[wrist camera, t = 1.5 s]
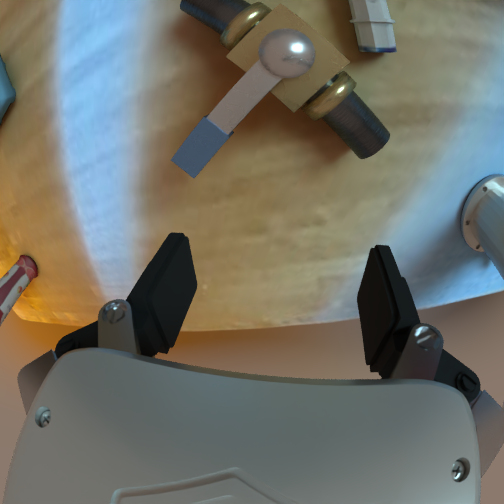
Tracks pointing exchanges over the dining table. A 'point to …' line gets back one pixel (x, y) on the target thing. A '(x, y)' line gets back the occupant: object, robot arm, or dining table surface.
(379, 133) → the ball valve
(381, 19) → the toothbrush head
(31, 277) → the liquor
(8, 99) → the teakettle
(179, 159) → the valve lever
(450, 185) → the dining table surface
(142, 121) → the dining table surface
